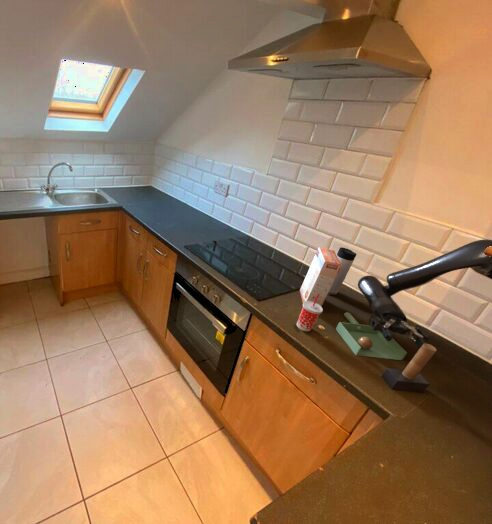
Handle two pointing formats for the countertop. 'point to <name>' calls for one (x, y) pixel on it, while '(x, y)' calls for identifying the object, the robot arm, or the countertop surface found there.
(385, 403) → the countertop surface
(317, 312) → the beverage cup
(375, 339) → the dustpan
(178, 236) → the countertop surface
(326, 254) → the cracker box
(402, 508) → the countertop surface
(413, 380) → the brush
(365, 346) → the cork ball
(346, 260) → the travel mug
